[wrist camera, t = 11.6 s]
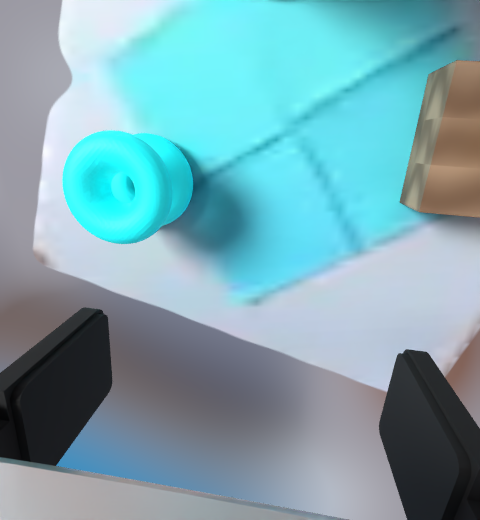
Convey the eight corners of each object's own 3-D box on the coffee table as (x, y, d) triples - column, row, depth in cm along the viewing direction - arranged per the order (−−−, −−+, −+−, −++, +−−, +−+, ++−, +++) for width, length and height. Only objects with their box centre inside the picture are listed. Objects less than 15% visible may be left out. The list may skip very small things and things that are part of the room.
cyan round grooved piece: (103, 101, 26) (189, 198, 28) (151, 113, 36) (214, 185, 37) (33, 185, 29) (114, 268, 31) (94, 176, 39) (154, 240, 40)
